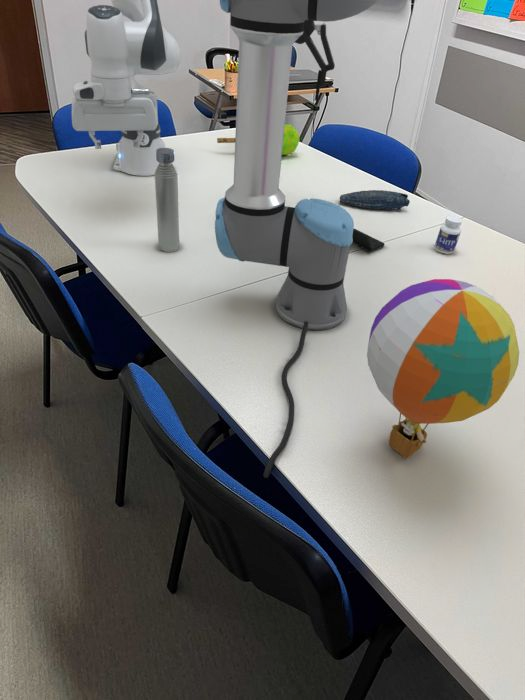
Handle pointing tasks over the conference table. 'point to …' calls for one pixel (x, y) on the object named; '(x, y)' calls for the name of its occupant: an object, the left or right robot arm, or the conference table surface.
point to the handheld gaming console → (366, 241)
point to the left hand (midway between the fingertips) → (117, 148)
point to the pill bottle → (448, 235)
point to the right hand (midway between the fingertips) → (290, 96)
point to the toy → (440, 356)
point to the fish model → (376, 199)
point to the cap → (165, 155)
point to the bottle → (167, 207)
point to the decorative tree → (288, 141)
